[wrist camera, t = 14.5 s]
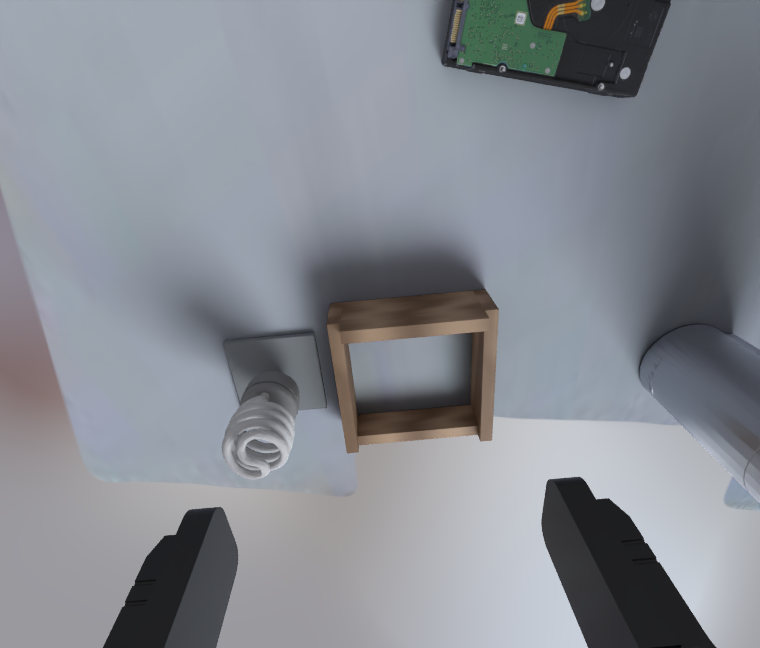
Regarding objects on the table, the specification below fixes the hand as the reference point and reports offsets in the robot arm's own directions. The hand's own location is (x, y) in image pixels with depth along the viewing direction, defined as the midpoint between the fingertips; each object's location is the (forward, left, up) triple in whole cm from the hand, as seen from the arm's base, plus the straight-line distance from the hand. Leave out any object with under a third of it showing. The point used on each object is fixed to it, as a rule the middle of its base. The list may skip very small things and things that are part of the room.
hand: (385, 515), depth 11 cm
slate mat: (+11, +15, -30) cm, 35 cm away
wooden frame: (-3, +15, -30) cm, 34 cm away
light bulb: (+11, +15, -30) cm, 35 cm away
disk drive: (-15, -14, -31) cm, 37 cm away
